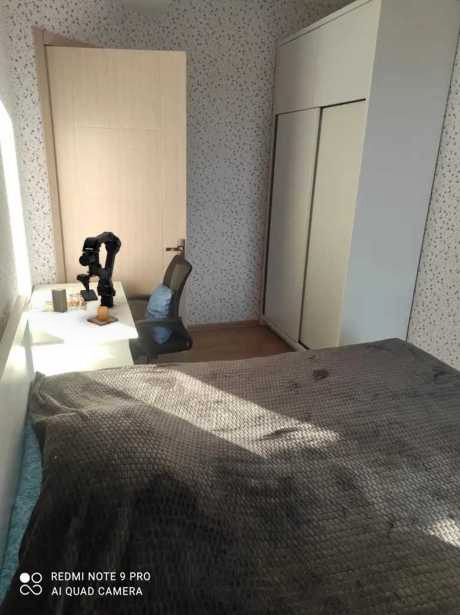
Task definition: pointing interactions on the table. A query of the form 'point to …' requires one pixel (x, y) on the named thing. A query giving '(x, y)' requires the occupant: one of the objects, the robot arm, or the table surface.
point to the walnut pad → (101, 323)
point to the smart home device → (89, 295)
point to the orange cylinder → (102, 313)
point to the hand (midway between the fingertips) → (95, 290)
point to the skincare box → (59, 299)
